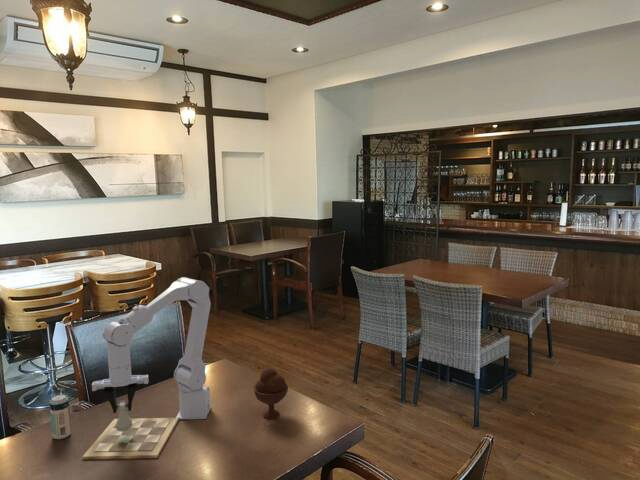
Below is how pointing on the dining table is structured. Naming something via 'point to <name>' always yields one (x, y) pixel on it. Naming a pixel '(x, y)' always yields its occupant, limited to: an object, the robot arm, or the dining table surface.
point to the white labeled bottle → (60, 416)
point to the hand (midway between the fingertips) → (122, 410)
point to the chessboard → (133, 439)
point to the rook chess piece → (123, 417)
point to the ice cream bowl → (270, 391)
